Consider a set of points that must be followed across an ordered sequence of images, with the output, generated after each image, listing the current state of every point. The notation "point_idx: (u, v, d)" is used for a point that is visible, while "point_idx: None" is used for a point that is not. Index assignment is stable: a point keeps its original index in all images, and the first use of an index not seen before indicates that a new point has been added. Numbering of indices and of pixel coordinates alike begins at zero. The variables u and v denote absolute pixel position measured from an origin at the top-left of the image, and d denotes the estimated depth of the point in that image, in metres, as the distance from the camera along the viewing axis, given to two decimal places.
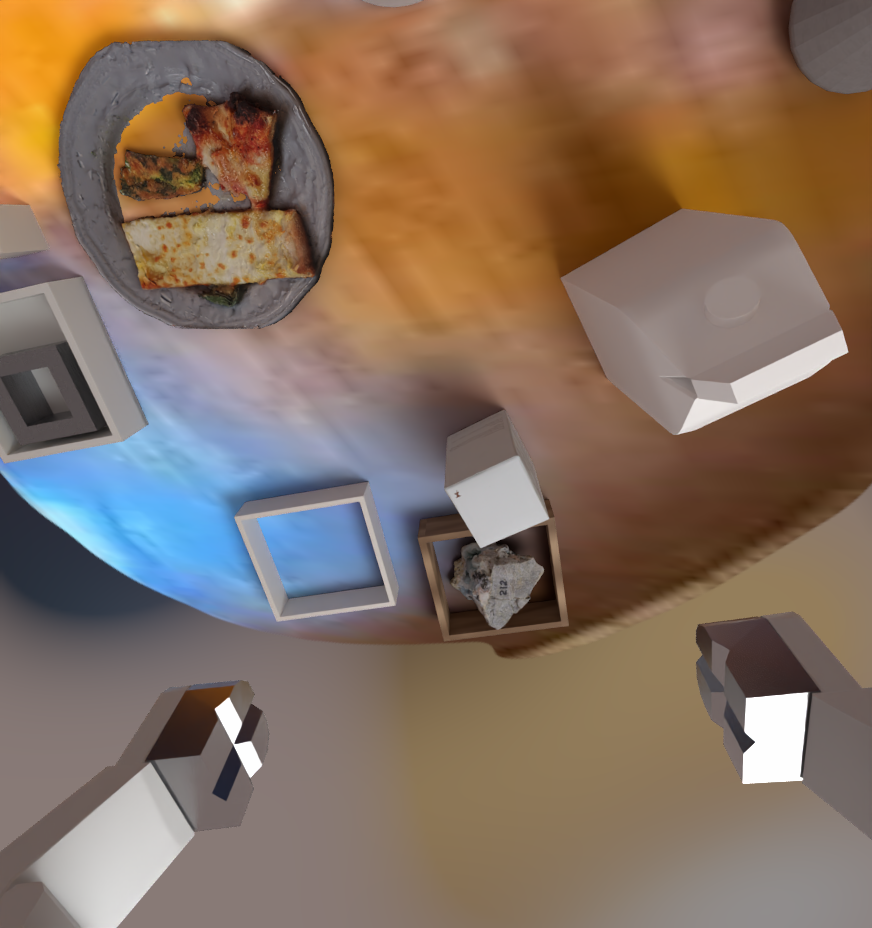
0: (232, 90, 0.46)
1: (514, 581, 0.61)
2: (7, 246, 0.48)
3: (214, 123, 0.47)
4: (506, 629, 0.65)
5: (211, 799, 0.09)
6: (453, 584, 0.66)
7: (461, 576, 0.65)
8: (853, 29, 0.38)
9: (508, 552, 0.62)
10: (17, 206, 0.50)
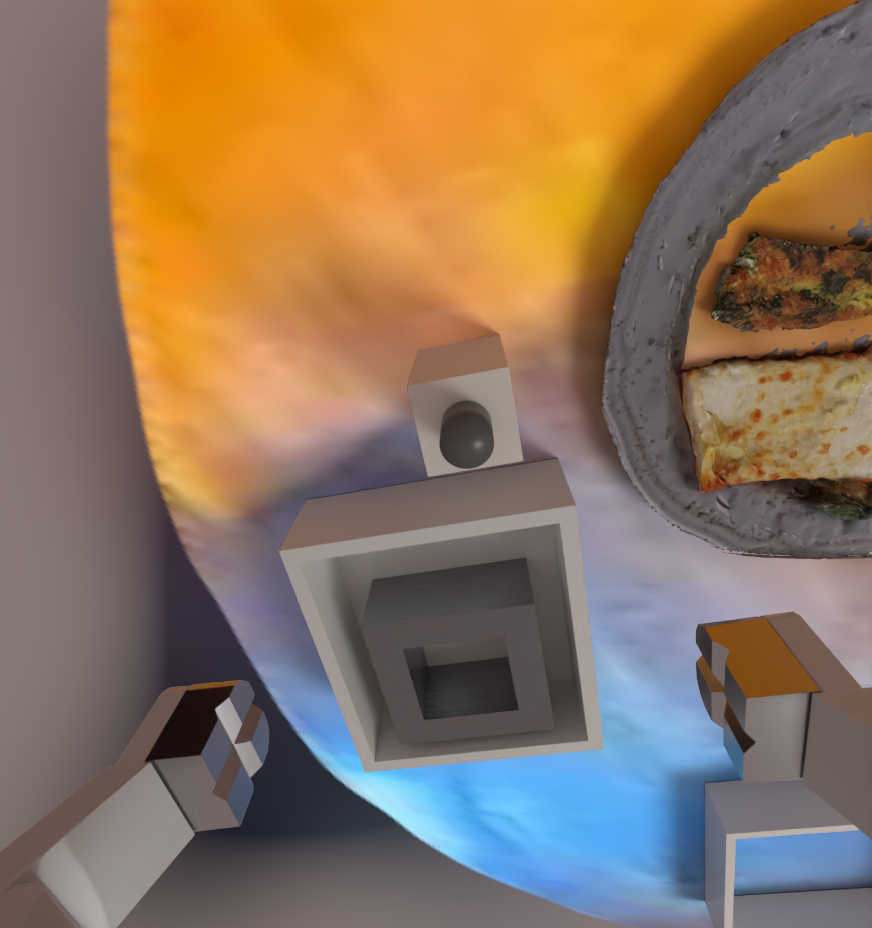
0: None
1: None
2: None
3: None
4: None
5: (211, 799, 0.09)
6: None
7: None
8: None
9: None
10: None
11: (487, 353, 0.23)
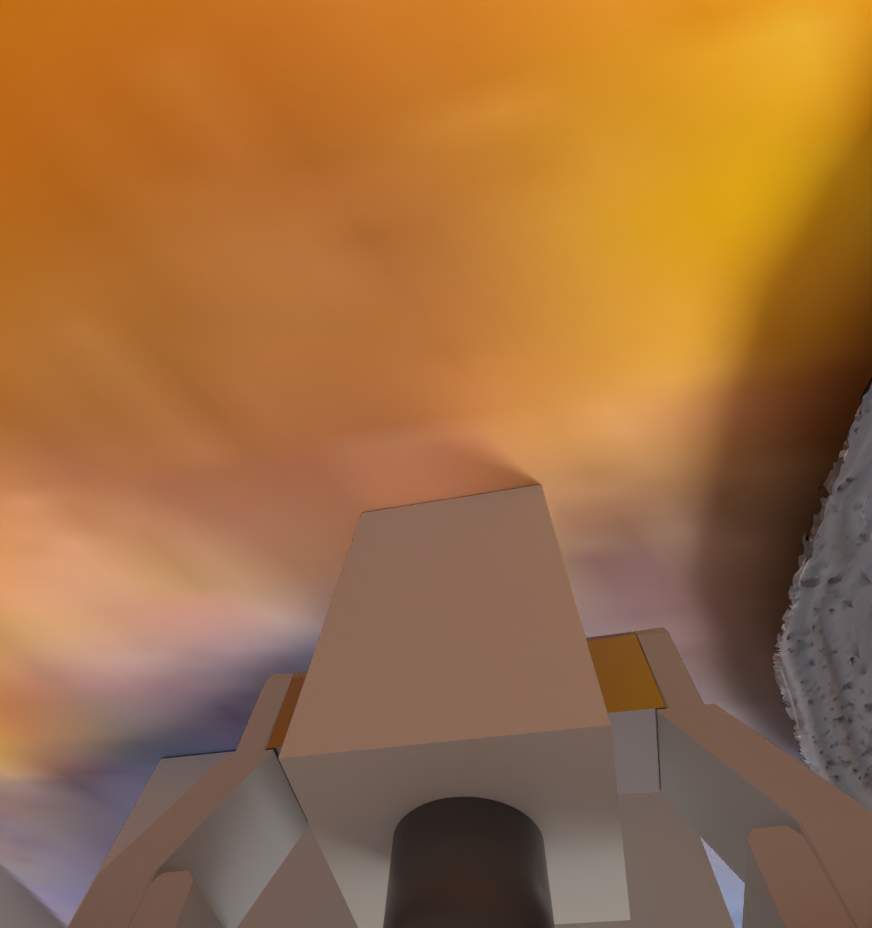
0: None
1: None
2: None
3: None
4: None
5: None
6: None
7: None
8: None
9: None
10: (554, 531, 0.10)
11: (523, 584, 0.09)
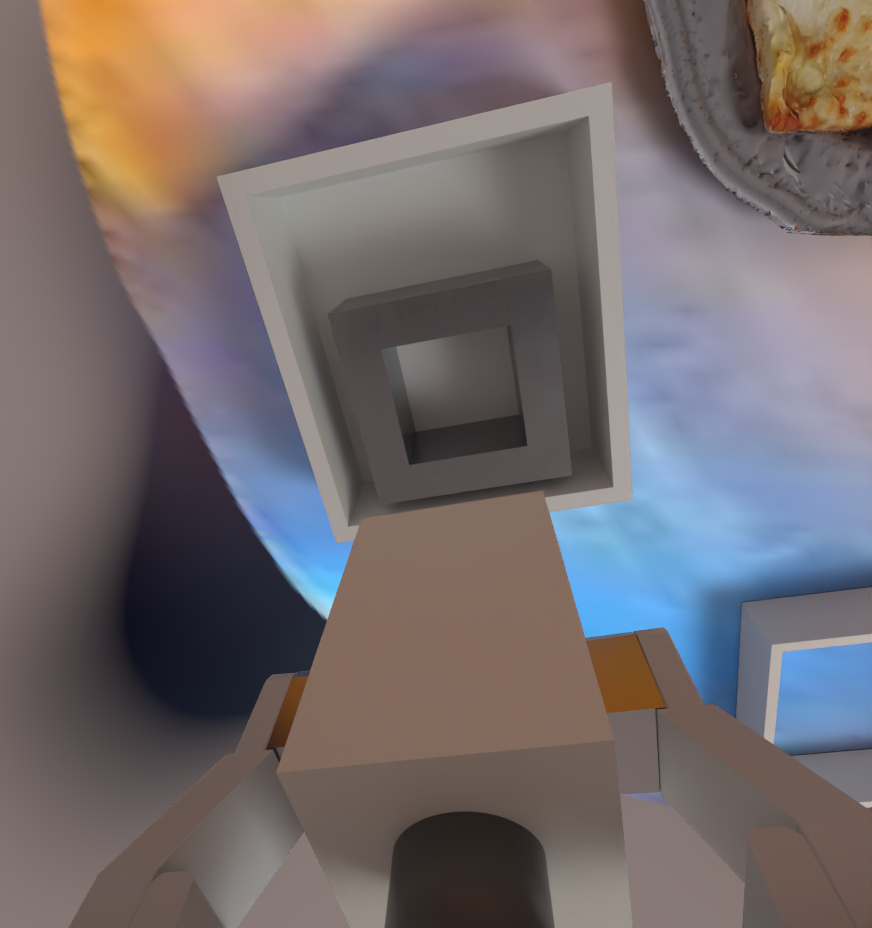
0: None
1: None
2: None
3: None
4: None
5: None
6: None
7: None
8: None
9: None
10: (555, 538, 0.10)
11: (525, 593, 0.09)
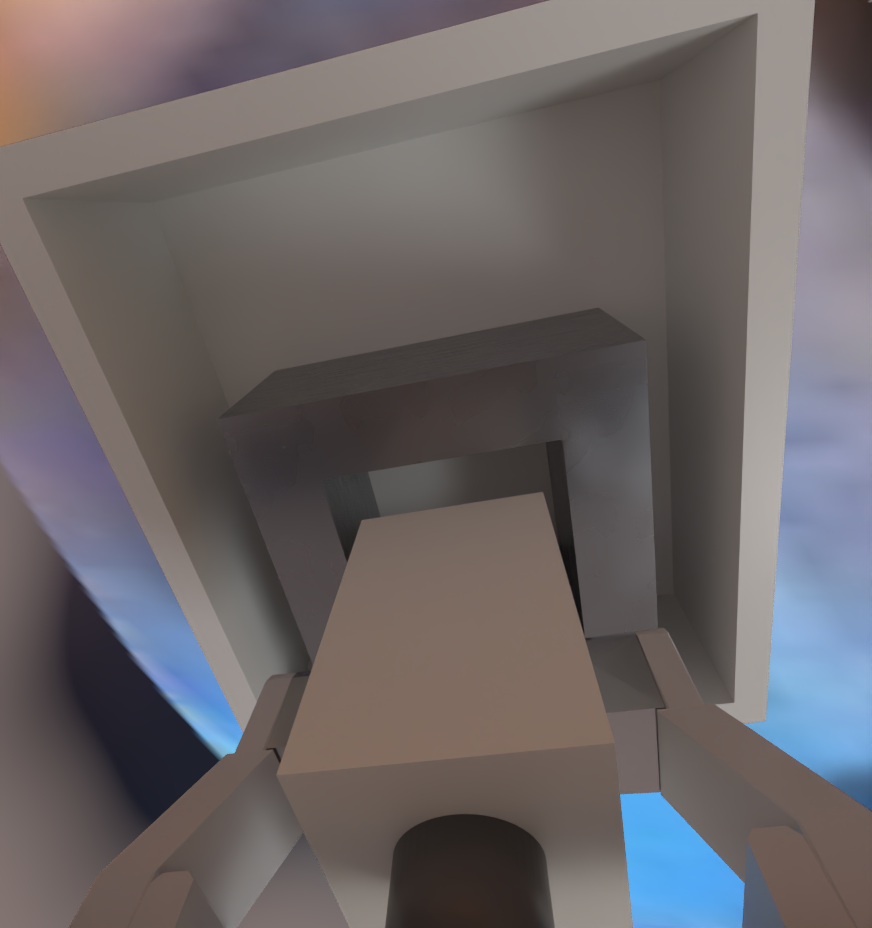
0: None
1: None
2: None
3: None
4: None
5: None
6: None
7: None
8: None
9: None
10: (555, 539, 0.10)
11: (525, 595, 0.09)
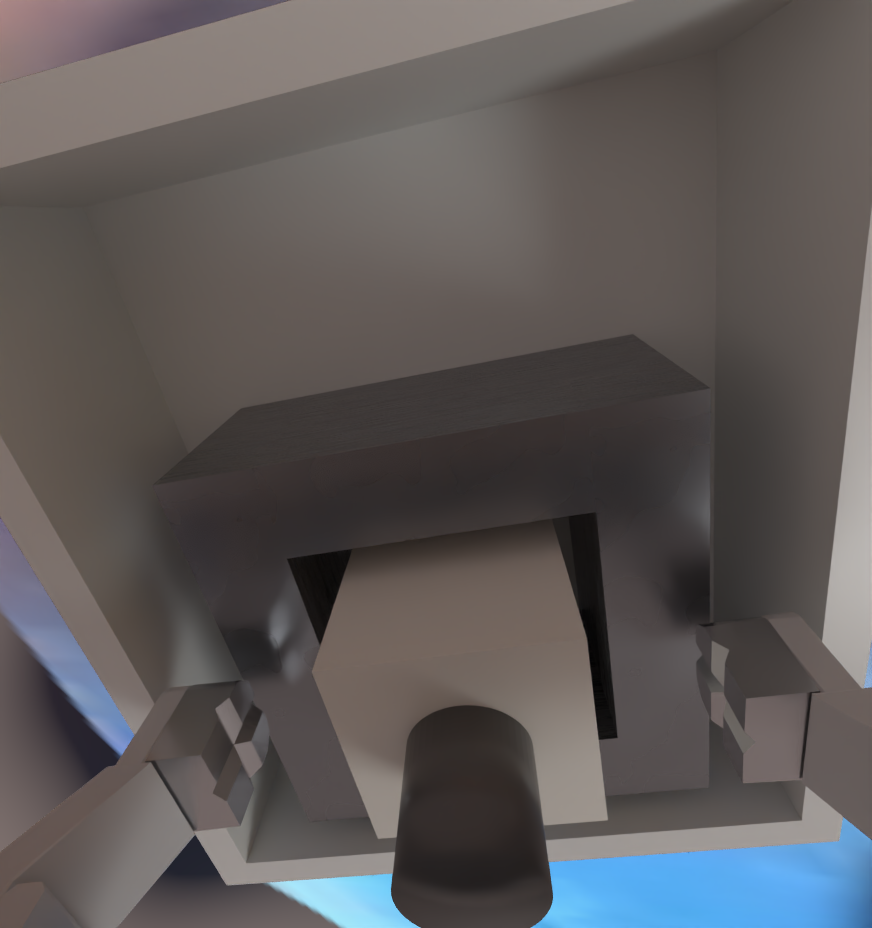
0: None
1: None
2: None
3: None
4: None
5: (211, 799, 0.09)
6: None
7: None
8: None
9: None
10: None
11: (517, 539, 0.10)
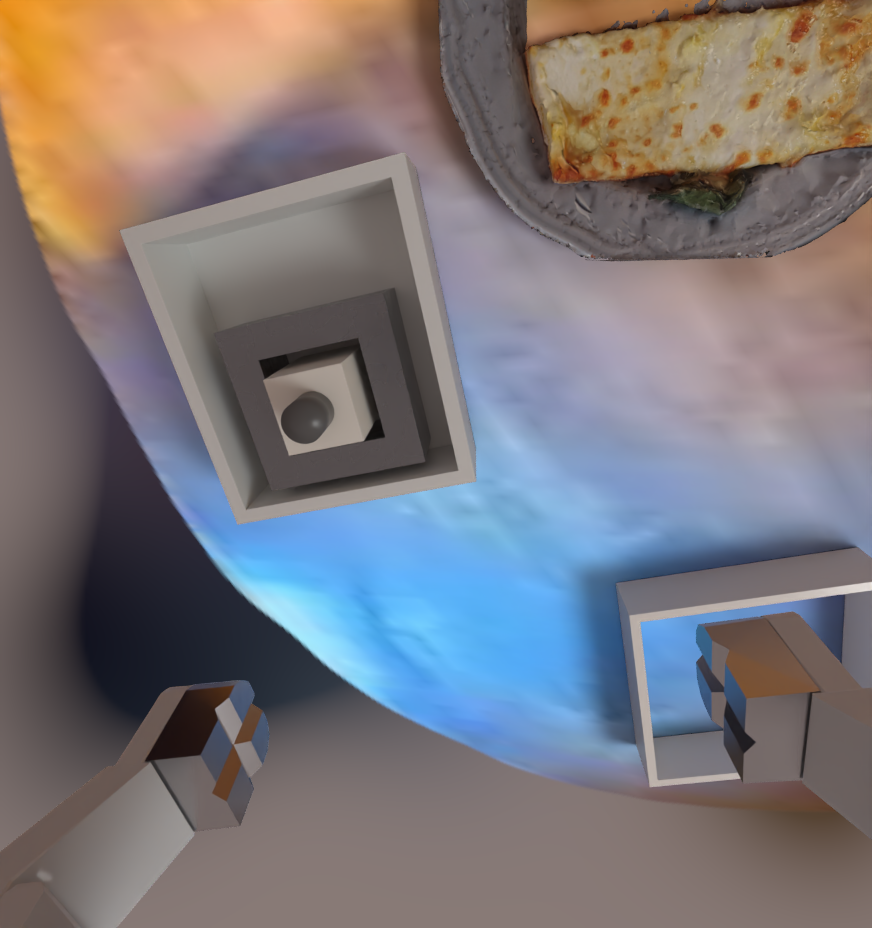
0: None
1: None
2: (364, 426, 0.28)
3: None
4: None
5: (211, 799, 0.09)
6: None
7: None
8: None
9: None
10: (359, 349, 0.30)
11: (340, 355, 0.28)
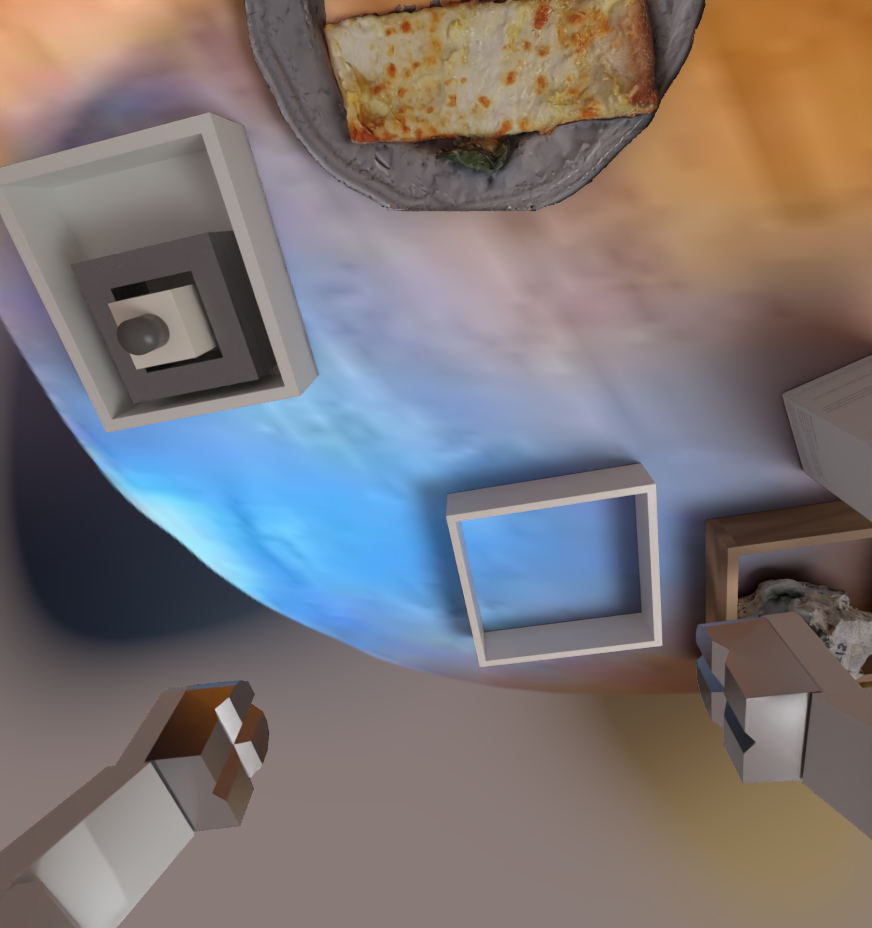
0: None
1: (853, 646, 0.42)
2: (199, 345, 0.33)
3: None
4: None
5: (211, 799, 0.09)
6: None
7: None
8: None
9: None
10: None
11: (181, 286, 0.34)
